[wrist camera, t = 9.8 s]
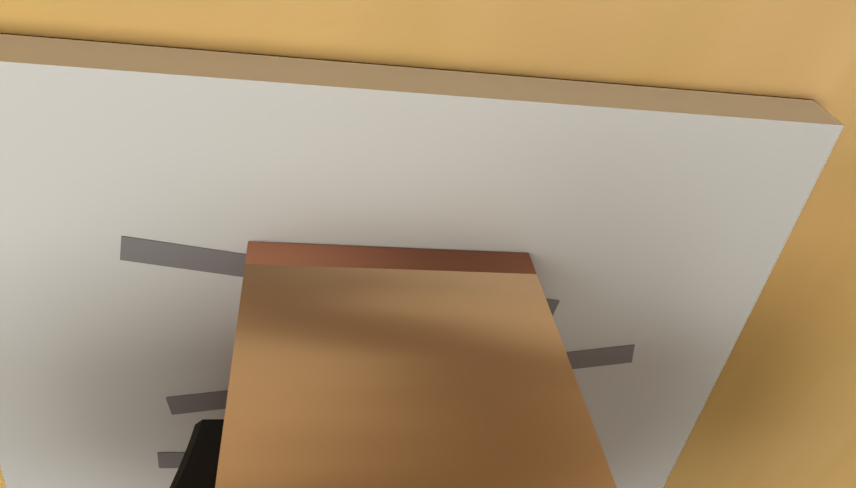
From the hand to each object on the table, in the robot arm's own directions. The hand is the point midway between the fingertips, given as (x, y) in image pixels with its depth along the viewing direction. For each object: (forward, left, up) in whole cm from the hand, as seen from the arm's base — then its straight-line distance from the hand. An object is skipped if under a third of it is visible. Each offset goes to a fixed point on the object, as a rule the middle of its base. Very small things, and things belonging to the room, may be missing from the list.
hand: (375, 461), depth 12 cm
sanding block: (0, 0, -1) cm, 1 cm away
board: (0, -3, -2) cm, 4 cm away
